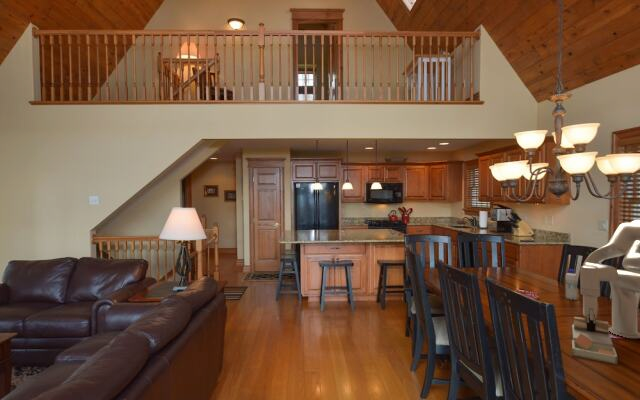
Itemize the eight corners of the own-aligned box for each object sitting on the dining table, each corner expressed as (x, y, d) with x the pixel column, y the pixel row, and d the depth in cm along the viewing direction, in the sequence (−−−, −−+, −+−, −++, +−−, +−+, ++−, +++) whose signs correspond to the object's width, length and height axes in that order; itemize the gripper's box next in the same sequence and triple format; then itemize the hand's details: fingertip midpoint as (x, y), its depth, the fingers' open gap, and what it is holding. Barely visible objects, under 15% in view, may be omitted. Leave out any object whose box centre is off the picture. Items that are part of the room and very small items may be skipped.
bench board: (572, 332, 179) (572, 324, 179) (607, 337, 171) (607, 329, 171) (573, 346, 162) (573, 337, 162) (612, 353, 155) (612, 344, 154)
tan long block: (574, 326, 175) (574, 316, 174) (607, 332, 167) (607, 321, 167) (574, 328, 172) (574, 318, 172) (608, 334, 165) (608, 323, 165)
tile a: (598, 353, 150) (598, 357, 150) (614, 355, 147) (614, 360, 147) (597, 348, 154) (597, 353, 154) (612, 351, 151) (612, 356, 151)
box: (572, 346, 162) (572, 339, 162) (614, 354, 154) (614, 347, 154) (572, 355, 153) (572, 348, 153) (617, 364, 145) (617, 357, 145)
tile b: (579, 334, 161) (580, 333, 160) (591, 342, 158) (592, 341, 157) (573, 342, 159) (575, 340, 158) (585, 350, 156) (587, 349, 155)
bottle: (565, 297, 237) (565, 267, 237) (578, 299, 233) (577, 268, 233) (564, 299, 232) (564, 269, 232) (577, 301, 228) (577, 270, 228)
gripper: (579, 286, 178) (580, 323, 179) (581, 295, 165) (582, 334, 165) (598, 288, 174) (599, 325, 174) (601, 297, 161) (602, 337, 161)
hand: (590, 329), depth 170 cm, fingers closed on tan long block, 2 cm apart
